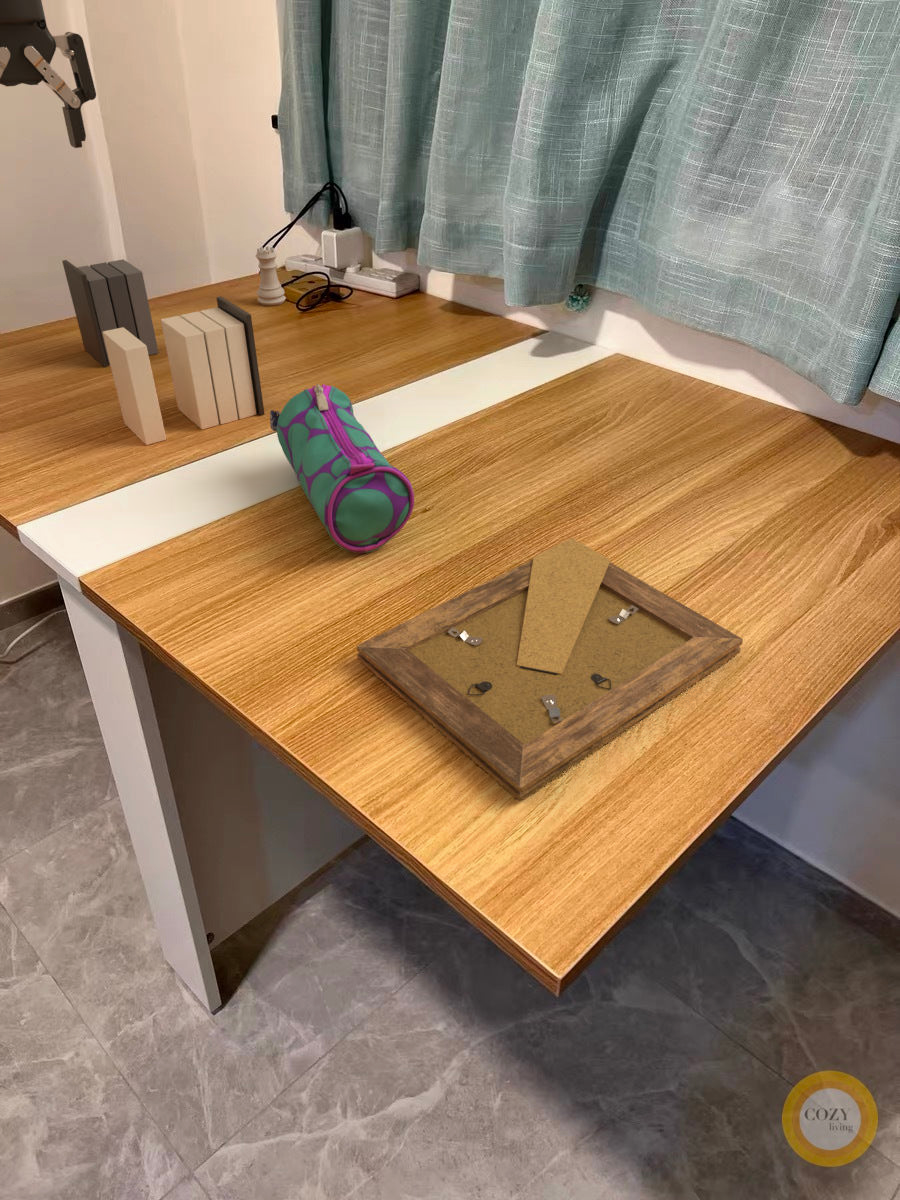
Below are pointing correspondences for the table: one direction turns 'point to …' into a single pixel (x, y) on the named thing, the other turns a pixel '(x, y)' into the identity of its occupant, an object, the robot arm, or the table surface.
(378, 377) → the table surface
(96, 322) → the grey books
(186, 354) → the white books
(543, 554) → the picture frame
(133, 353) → the white book
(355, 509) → the pencil case
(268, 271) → the rook chess piece
